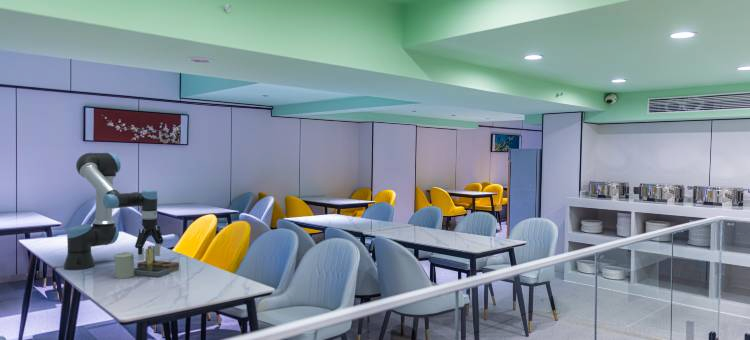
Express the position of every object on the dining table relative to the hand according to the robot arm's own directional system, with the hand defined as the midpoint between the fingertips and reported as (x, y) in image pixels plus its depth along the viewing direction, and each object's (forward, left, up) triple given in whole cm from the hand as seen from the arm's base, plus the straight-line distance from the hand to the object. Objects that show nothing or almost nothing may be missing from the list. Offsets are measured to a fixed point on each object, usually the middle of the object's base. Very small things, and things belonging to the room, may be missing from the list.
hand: (149, 258), depth 283 cm
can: (-9, -8, -9) cm, 15 cm away
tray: (0, 0, -9) cm, 9 cm away
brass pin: (0, 0, -8) cm, 8 cm away
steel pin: (-7, +10, -9) cm, 15 cm away
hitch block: (-2, +10, -9) cm, 13 cm away
